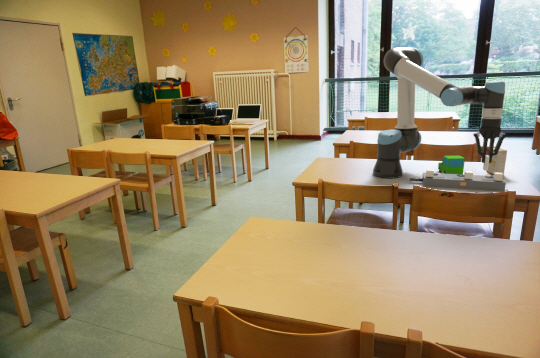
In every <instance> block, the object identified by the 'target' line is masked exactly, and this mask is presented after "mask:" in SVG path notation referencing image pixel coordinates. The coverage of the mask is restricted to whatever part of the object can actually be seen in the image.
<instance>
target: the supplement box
mask: <svg viewBox="0 0 540 358" xmlns="http://www.w3.org/2000/svg"><path fill="white" fill-rule="evenodd" d="M494 149H495V147H494V148H493V152H494ZM507 154H508V150H507V149H504V148H501V147H500V149H499V151H498V154H497V155H493V156H492V162H491V163H489V166H488V171H486V172H487V173H489V174H491V175H492V176H494V172H500V173H502V174H503V176H504V175H505V168H506V161H507Z"/></svg>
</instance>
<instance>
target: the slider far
mask: <svg viewBox="0 0 540 358" xmlns="http://www.w3.org/2000/svg"><path fill="white" fill-rule="evenodd" d="M492 176H493V179H494V180H497V181H502V179H503V177H504V175H503V174H502V173H500V172H494V175H492ZM503 180H504V179H503Z"/></svg>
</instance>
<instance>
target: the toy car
mask: <svg viewBox="0 0 540 358" xmlns="http://www.w3.org/2000/svg"><path fill="white" fill-rule="evenodd" d="M465 160H466V159H465V157H463V156H461V155H443V157H442V160H441V162H438V164H437V168H438V169H437V170H438V172H439V173H443V174H463V175H464V171H465V170H464V168H465Z"/></svg>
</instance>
